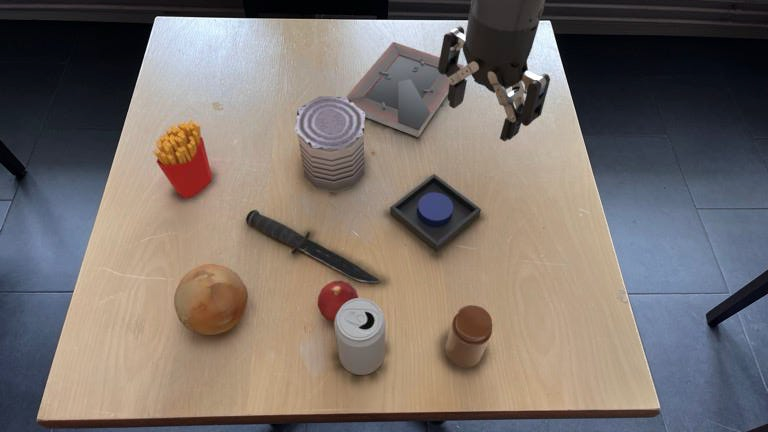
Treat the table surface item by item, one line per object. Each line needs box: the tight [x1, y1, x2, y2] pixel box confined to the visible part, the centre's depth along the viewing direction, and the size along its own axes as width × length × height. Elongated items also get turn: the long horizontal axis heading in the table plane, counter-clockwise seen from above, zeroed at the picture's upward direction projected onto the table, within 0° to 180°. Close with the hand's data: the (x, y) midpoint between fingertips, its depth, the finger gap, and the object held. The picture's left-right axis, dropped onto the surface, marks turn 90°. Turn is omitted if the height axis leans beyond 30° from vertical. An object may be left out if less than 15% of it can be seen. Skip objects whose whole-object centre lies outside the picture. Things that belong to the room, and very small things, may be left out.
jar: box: [444, 304, 494, 369], centre depth 70 cm, size 5×5×10 cm
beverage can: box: [333, 297, 387, 376], centre depth 69 cm, size 6×6×12 cm
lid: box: [417, 193, 453, 227], centre depth 87 cm, size 6×6×2 cm
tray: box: [389, 173, 482, 254], centre depth 87 cm, size 11×11×2 cm
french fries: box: [152, 119, 213, 199], centre depth 86 cm, size 8×4×12 cm, turn 145°
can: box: [294, 95, 366, 194], centre depth 89 cm, size 11×11×12 cm
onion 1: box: [173, 263, 249, 336], centre depth 73 cm, size 10×10×10 cm
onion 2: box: [317, 280, 359, 323], centre depth 74 cm, size 6×6×8 cm
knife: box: [245, 209, 382, 283], centre depth 82 cm, size 24×5×3 cm, turn 55°
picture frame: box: [346, 41, 465, 138], centre depth 105 cm, size 16×2×22 cm
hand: (480, 120), depth 68 cm, fingers open, 8 cm apart
